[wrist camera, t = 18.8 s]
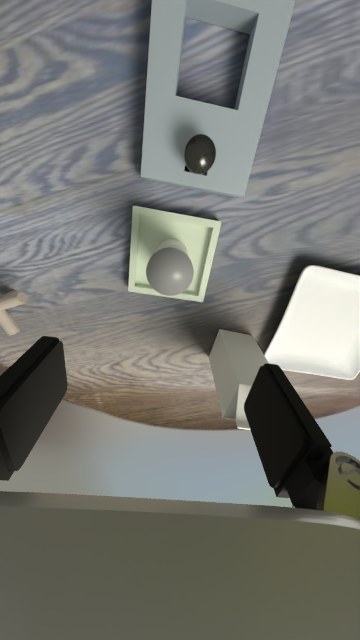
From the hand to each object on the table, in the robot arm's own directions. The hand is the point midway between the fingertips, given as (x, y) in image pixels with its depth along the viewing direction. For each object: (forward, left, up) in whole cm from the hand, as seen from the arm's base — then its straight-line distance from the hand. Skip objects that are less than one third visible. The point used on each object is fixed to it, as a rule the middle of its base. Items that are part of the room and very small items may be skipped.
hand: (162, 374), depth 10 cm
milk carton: (-15, +16, -28) cm, 36 cm away
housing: (-2, -22, -28) cm, 36 cm away
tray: (0, 0, -28) cm, 28 cm away
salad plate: (-32, +8, -29) cm, 43 cm away
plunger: (-1, -13, -28) cm, 31 cm away
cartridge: (0, 0, -28) cm, 28 cm away
